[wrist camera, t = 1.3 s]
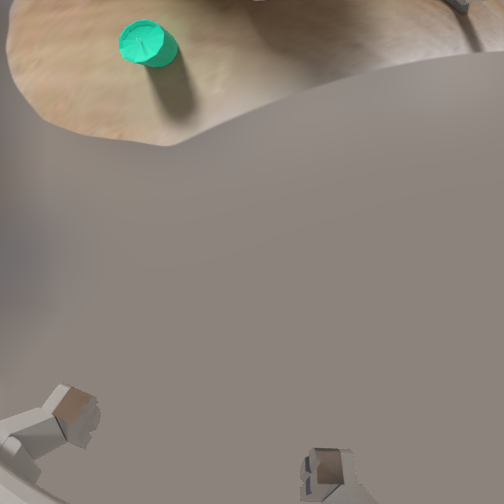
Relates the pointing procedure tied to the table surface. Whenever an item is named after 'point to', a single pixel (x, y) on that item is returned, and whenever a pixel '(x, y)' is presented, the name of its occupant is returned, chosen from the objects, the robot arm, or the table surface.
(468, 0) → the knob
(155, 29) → the candle
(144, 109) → the table surface
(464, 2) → the switch box
